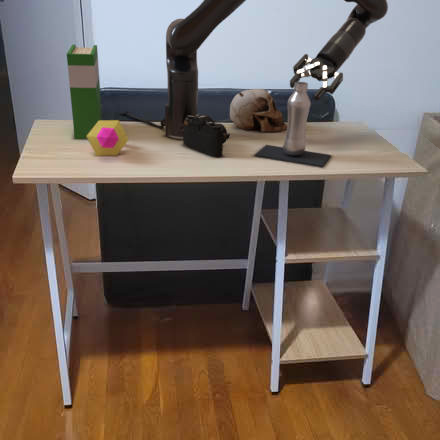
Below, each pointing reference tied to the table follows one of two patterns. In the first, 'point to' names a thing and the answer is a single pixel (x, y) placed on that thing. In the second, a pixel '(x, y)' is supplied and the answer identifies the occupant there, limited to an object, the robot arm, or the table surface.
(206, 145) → the film camera
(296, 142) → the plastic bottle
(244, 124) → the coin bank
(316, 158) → the mat
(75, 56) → the hardback book
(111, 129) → the toy
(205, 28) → the robot arm
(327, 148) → the table surface
